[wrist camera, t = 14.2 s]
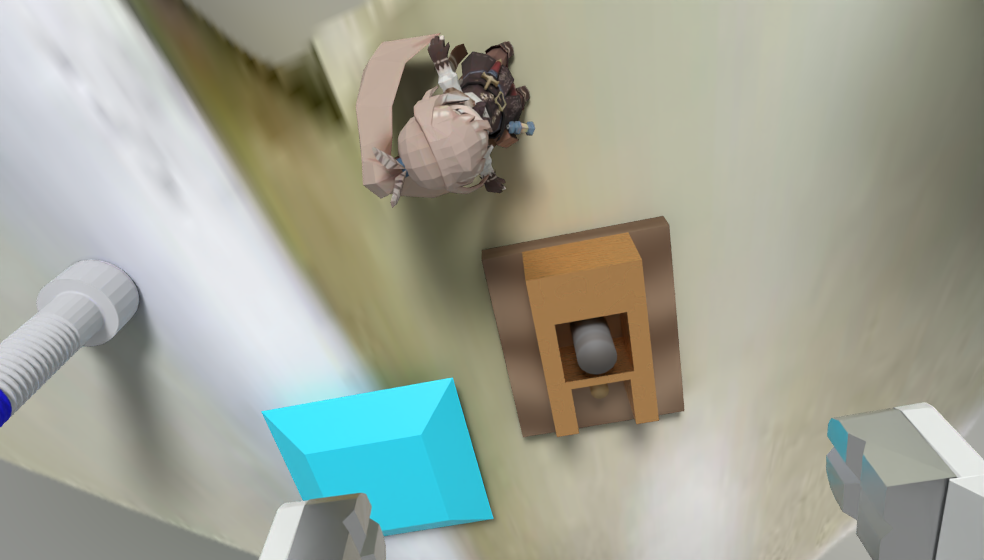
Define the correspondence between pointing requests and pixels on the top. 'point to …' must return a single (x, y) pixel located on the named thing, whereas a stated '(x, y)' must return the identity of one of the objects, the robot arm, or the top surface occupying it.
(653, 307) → the flange base
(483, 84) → the toy
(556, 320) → the wooden notched block
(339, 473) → the prism
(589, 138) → the top surface
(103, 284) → the bolt
